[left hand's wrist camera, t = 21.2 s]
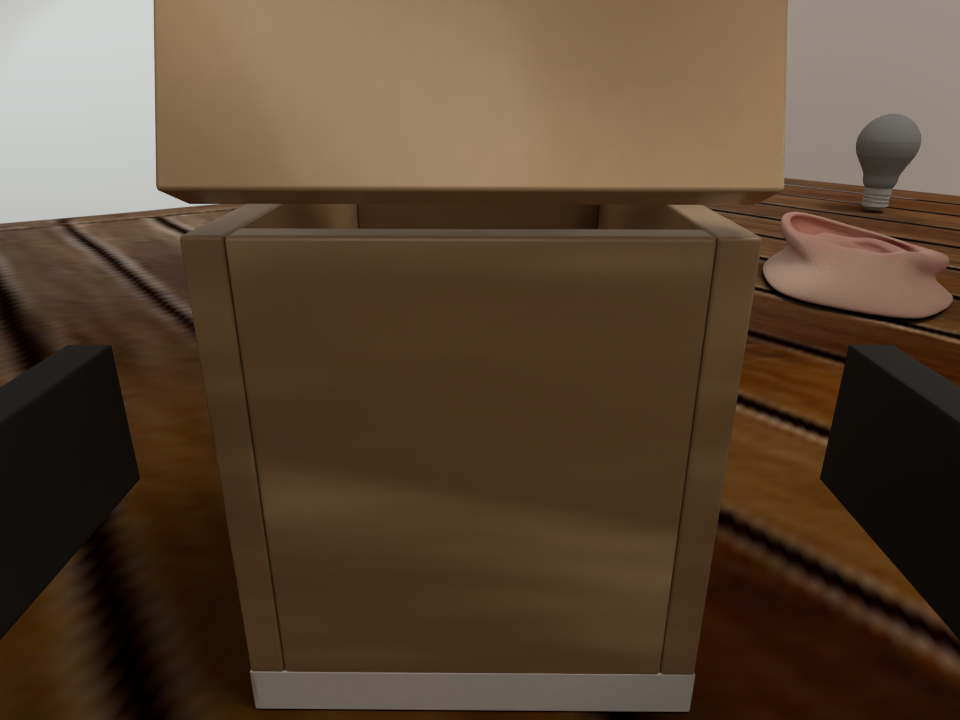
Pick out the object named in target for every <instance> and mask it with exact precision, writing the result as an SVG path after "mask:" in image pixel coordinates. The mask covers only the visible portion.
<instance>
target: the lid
mask: <svg viewBox="0 0 960 720" xmlns="http://www.w3.org/2000/svg"><path fill="white" fill-rule="evenodd" d="M787 2H788V0H154V50H155V123H156V186H157V189H158V190H159V191H162V192H164V193H166V194H168V195H171V196H173V197H175V198H177V199H180V200H182V201H184V202H187V203H189V204H523V205H755V204H757V203H759V202H761V201H763V200H765V199H767V198H769V197H771V196H774V195H776V194H778V193H780V192H782V191H783V188H784V150H785V100H786V53H787V4H788V3H787Z"/></svg>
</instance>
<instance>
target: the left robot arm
mask: <svg viewBox="0 0 960 720" xmlns="http://www.w3.org/2000/svg"><path fill="white" fill-rule="evenodd" d="M139 479H140V477H139V472H138V467H137V463H136V458H135V454H134V449H133V444H132V440H131V435H130V431H129V426H128V421H127V417H126V412H125V407H124V403H123V398H122V394H121V389H120V384H119V380H118V375H117V371H116V366H115V361H114V357H113V352H112V348H111V345H67V346H66V347H64V348H62V349H61V350H59V351H58V352H56V353H54V354H53V355H51V356H50V357H48V358H46V359H45V360H43V361H42V362H40V363H39V364H37V365H35V366H34V367H32V368H31V369H29V370H27V371H26V372H24V373H23V374H21V375H19V376H18V377H16V378H15V379H13V380H11V381H10V382H8V383H7V384H5V385H3V386H2V387H0V640H1V639H2V637H3V636H4V635H5V634H6V633H7V632H8V630H9V629H10V628H11V627H12V626H13V625H14V624H15V622H16V621H17V620H18V619H19V618H20V617H21V615H22V614H23V613H24V612H25V611H26V610H27V609H28V607H29V606H30V605H31V604H32V603H33V602H34V600H35V599H36V598H37V597H38V596H39V595H40V594H41V592H42V591H43V590H44V589H45V588H46V587H47V585H48V584H49V583H50V582H51V581H52V580H53V579H54V577H55V576H56V575H57V574H58V573H59V572H60V570H61V569H62V568H63V567H64V566H65V565H66V564H67V562H68V561H69V560H70V559H71V558H72V557H73V555H74V554H75V553H76V552H77V551H78V550H79V549H80V547H81V546H82V545H83V544H84V543H85V542H86V540H87V539H88V538H89V537H90V536H91V535H92V534H93V532H94V531H95V530H96V529H97V528H98V527H99V525H100V524H101V523H102V522H103V521H104V520H105V519H106V517H107V516H108V515H109V514H110V513H111V512H112V510H113V509H114V508H115V507H116V506H117V505H118V504H119V502H120V501H121V500H122V499H123V498H124V497H125V495H126V494H127V493H128V492H129V491H130V490H131V489H132V487H133V486H134V485H135V484H136V483H137V482H138V480H139ZM820 479H821V480H822V482H823V483H824V484H825V485H826V486H827V487H828V489H829V490H830V491H831V492H832V493H833V494H834V495H835V497H836V498H837V499H838V500H839V501H840V502H841V504H842V505H843V506H844V507H845V508H846V509H847V510H848V512H849V513H850V514H851V515H852V516H853V517H854V519H855V520H856V521H857V522H858V523H859V524H860V525H861V527H862V528H863V529H864V530H865V531H866V532H867V534H868V535H869V536H870V537H871V538H872V539H873V540H874V542H875V543H876V544H877V545H878V546H879V547H880V549H881V550H882V551H883V552H884V553H885V554H886V555H887V557H888V558H889V559H890V560H891V561H892V562H893V564H894V565H895V566H896V567H897V568H898V569H899V570H900V572H901V573H902V574H903V575H904V576H905V577H906V579H907V580H908V581H909V582H910V583H911V584H912V585H913V587H914V588H915V589H916V590H917V591H918V592H919V594H920V595H921V596H922V597H923V598H924V599H925V600H926V602H927V603H928V604H929V605H930V606H931V607H932V609H933V610H934V611H935V612H936V613H937V614H938V615H939V617H940V618H941V619H942V620H943V621H944V622H945V624H946V625H947V626H948V627H949V628H950V629H951V630H952V632H953V633H954V634H955V635H956V636H957V637H958V639H959V640H960V387H958V386H957V385H955V384H953V383H952V382H950V381H949V380H947V379H945V378H944V377H942V376H941V375H939V374H937V373H936V372H934V371H933V370H931V369H929V368H928V367H926V366H925V365H923V364H921V363H920V362H918V361H917V360H915V359H914V358H912V357H910V356H909V355H907V354H906V353H904V352H902V351H901V350H899V349H898V348H896V347H894V346H893V345H849V348H848V352H847V357H846V361H845V366H844V371H843V375H842V380H841V384H840V389H839V394H838V398H837V403H836V407H835V412H834V417H833V421H832V426H831V431H830V435H829V440H828V444H827V449H826V454H825V458H824V463H823V467H822V472H821V477H820Z"/></svg>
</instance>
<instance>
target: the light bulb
mask: <svg viewBox="0 0 960 720" xmlns="http://www.w3.org/2000/svg"><path fill="white" fill-rule="evenodd" d="M920 144H921V134H920V131H919V129H918V127H917V125H916V124H915V123H914V122H913V121H912V120H911V119H910V118H908V117H906V116H903V115H899V114H889V115H884V116H881V117H878V118H876V119H874V120H873V121H871V122H870V123H869V124H868V125H867V126H866V127H865V128H864V129H863V130H862V131H861V133H860V135H859V136H858V139H857V143H856V153H857V156H858V159H859V162H860V164H861V167H862V170H863V183H864V186H865V187H864V188H865V189H864V193H865V194H863V195H864V196H865V197H863V198H862V199H864V201H862V203H861V205H863V206H864V207H866V208H867V209H869V210H881V209H883V208H886V207H888V204H887V203H888V202H889V201H888V199H890V198H889V195H891V191H892V188H893V187H894V186H895V185H896V183H897V181H898V178H899V176H900V174H901V173H902V171H903V170H904V169H905V168H906V166H907V165H908V164H909V163H910V162H911V161H912V160H913V158H914V157H915V156H916V154H917V152H918V150H919V148H920Z"/></svg>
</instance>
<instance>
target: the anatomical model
mask: <svg viewBox="0 0 960 720" xmlns="http://www.w3.org/2000/svg"><path fill="white" fill-rule="evenodd" d="M781 230H782V233H783V235H784V237H785V239H786V241H787V246H786V248H785V249H783V250H782V251H780V252H778V253H777V254H775V255H773V256H772V257H771V258H769V259H768V260H767V261H766V262H765V264H764V266H763V272H764V276H765V278H766V279H767V281H768V283H769V284H770V285H771V286H772V287H773V288H774V289H776V290H777V291H778V292H780V293H782V294H784V295H787V296H789V297H792V298H795V299H798V300H802V301H806V302H810V303H814V304H818V305H823V306H827V307H832V308H837V309H843V310H848V311H854V312H860V313H866V314H872V315H879V316H886V317H894V318H905V319H917V318H925V317H929V316H932V315H935V314H937V313H939V312H940V311H942V310H944V309H946V308H947V307H949V305H950V304H951V303H952V301H953V297H952V295H951V294H950V293H949V292H948V291H947V290H946V289H945V288H944V287H942V286H941V285H940V284H939V283H938V282H937V281H936V279H935V278H936V276H937V275H938V274H939V273H941V272H942V271H944V270H945V269H946V268H947V266H948V264H949V258H948V256H946V255H945V254H942V253H940V252H937V251H934V250H930V249H927V248H923V247H920V246H916V245H913V244H910V243H906V242H903V241H900V240H897V239H895V238H891V237H888V236H885V235H882V234H879V233H875V232H872V231H868V230H865V229H861V228H857V227H854V226H851V225H847V224H844V223H840V222H837V221H833V220H830V219H826V218H823V217H819V216H815V215H811V214H806V213H800V212H790V213H786V214H785V215H784V216H783V217H782V219H781Z"/></svg>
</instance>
